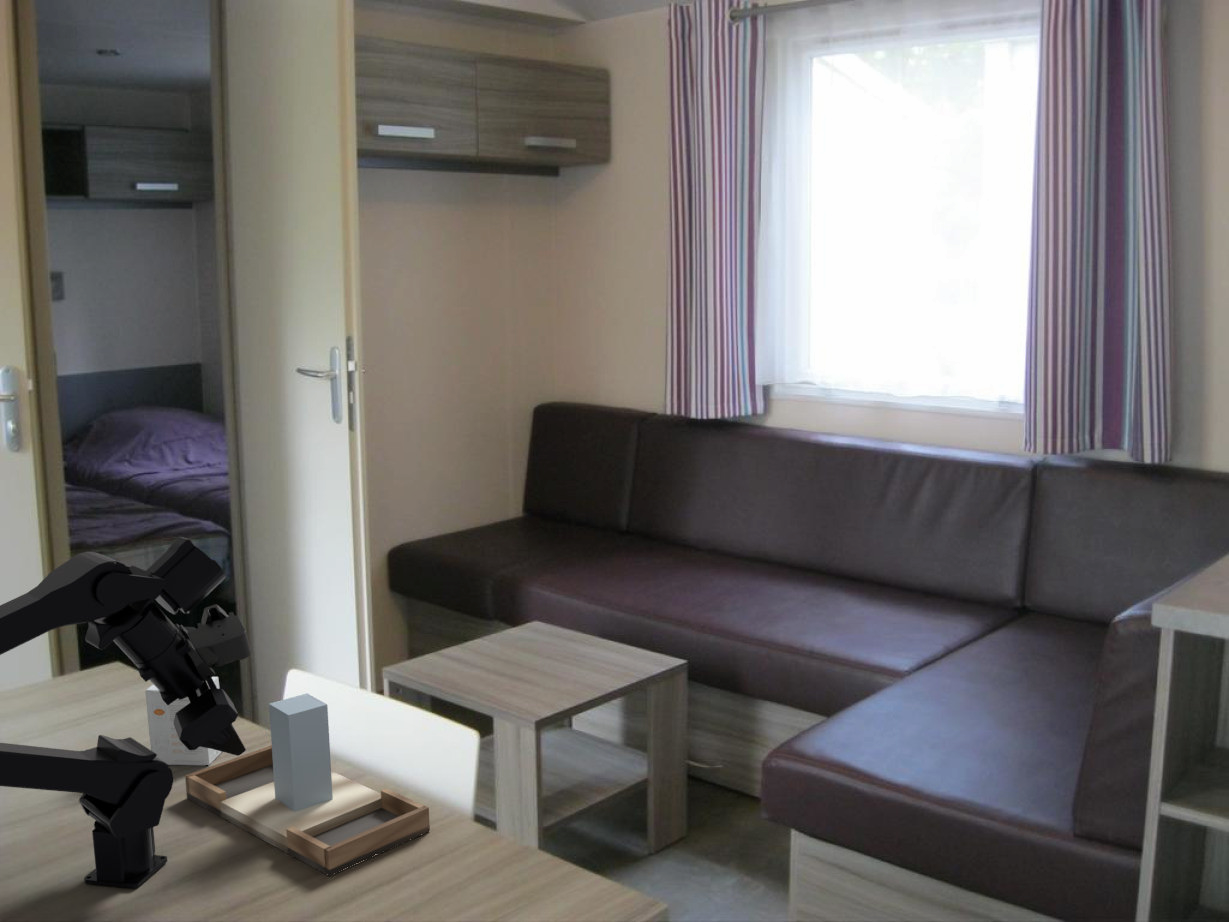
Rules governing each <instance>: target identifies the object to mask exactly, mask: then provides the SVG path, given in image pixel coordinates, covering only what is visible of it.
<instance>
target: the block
mask: <svg viewBox="0 0 1229 922" xmlns="http://www.w3.org/2000/svg"><path fill="white" fill-rule="evenodd" d="M268 709H269V711H268V712H269V723H270V725H269V727H270V740H271V741H270V742H271V743H270V744H271V745H272V758H273V773H274V788H275V798H276V799H277V800H278V801H280V802H281V803H283V804H284V805H285V806H287V807H288V808H290V809H291V810H293V811H294V812H296V811H299V810H302V809H305V808H308V807H311V806H314V805H317V804H320V803H323V802H326V801H329V800H332V799H333V795H332V777H331V771H332V766H331V765H332V763H331V760H332V759H331V745H330V744H331V743H330V729H329V728H330V727H329V726H330V725H329V711H328V704H327V703H325V702H323V701H322V700H320V699H318V698H316V697H314V696H312V695H311V694H310V693H304V694H301V695H296V696H293V697H288V698H285V699H282V700H278V701H274V702H270V703H268Z"/></svg>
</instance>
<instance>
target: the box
mask: <svg viewBox="0 0 1229 922" xmlns="http://www.w3.org/2000/svg"><path fill="white" fill-rule="evenodd" d="M184 777H185V778H184V779H185V790H186V792H185V793H186V799H187V798H188V800H190V801H191V802H193V803H195V804H197V805H198V806H200V807H202V808H204V809H206V810H208V811H209V812H211V813H214V814H215V815H217V816H218V817H221V818H222V819H225V820H226V821H228V822H230V823H231V824H233V825H235V826H237V827H239V828H240V829H243V830H244V831H246V832H248V833H250V834H251V835H254V836H255V837H257V838H259V839H261V840H263V841H264V842H266V843H268V844H269V845H271V846H274V847H275V848H277V849H278V850H281V851H282V852H284V853H286V854H287V855H289V854H290V855H289V856H291V855H292V856H291V857H293V858H295V857H296V858H295V859H297V860H299V861H300V862H302V861H303V862H302V863H305V864H306V865H308V866H309V865H311V866H312V867H311V866H310V867H311V868H313V867H314V868H313V869H315V868H316V869H315V870H317V869H318V870H317V871H319V870H320V871H322V872H323V873H322V872H321V873H322V874H324V873H325V874H324V875H326V874H328V875H329V876H330V877H332V876H334V875H333V874H334V873H336V872H339V871H341V870H343V869H345V868H347V867H350V866H352V865H354V864H356V863H359V862H361V861H363V860H366V859H368V858H370V857H372V856H374V855H375V854H379V853H381V854H383V853H382V852H383V851H386V850H388V849H390V850H392V849H394V848H393V847H395V846H397V845H399V846H401V845H403V844H402V843H404V842H406V843H408V842H410V841H411V840H410V839H413V840H415V839H416V838H415V837H417V838H419V837H421V836H422V835H421V834H424V835H425V833H426V832H428V833H430V832H431V831H430V829H431V827H430V825H431V824H430V808H429V807H428V806H426V805H424V804H421V803H419V802H417V801H415V800H412V799H410V798H408V797H406V796H405V795H401V794H399V793H397V792H395V791H393V790H391V789H388V788H384V789H382V790H380V792H378V791H377V790H374V789H371V788H370V787H368V786H365V785H364V784H361V783H359V782H356V781H354V780H352V779H349V778H347V777H345V776H343V775H342V774H341V775H340V774H339V773H337V772H334V771H332V770H331V777H332V795H333V799H332V800H329V801H326V802H323V803H320V804H317V805H314V806H311V807H308V808H305V809H302V810H299V811H296V812H294V811H293V810H291V809H290V808H288V807H287V806H285V805H284V804H283V803H281V802H280V801H278V800H277V799H276V798H275V788H274V773H273V758H272V744H271V745H269V746H266V747H263V748H260V749H258V750H254V751H251V752H248V753H246V754H243V755H239V756H237V757H235V758H232V759H229V760H226V761H223V762H220V763H217V764H214V765H211V766H208V767H206V768H202V769H200V770H198V771H197V770H196V771H194V772H191V773H189V774H186V775H184ZM429 831H430V832H429ZM426 834H427V833H426ZM420 835H421V836H420ZM418 836H419V837H418ZM414 838H415V839H414ZM409 840H410V841H409ZM407 841H408V842H407ZM400 844H401V845H400ZM404 844H405V843H404ZM397 847H398V846H397ZM391 848H392V849H391ZM395 848H396V847H395ZM388 851H389V850H388ZM386 852H387V851H386ZM379 855H380V854H379ZM372 858H373V857H372ZM370 859H371V858H370ZM368 860H369V859H368ZM366 861H367V860H366ZM361 863H362V862H361ZM359 864H360V863H359ZM352 867H353V866H352ZM350 868H351V867H350ZM320 871H319V872H320ZM341 872H342V871H341ZM339 873H340V872H339ZM328 875H327V876H328ZM331 875H332V876H331ZM329 876H328V877H329Z"/></svg>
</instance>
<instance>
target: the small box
mask: <svg viewBox="0 0 1229 922" xmlns="http://www.w3.org/2000/svg"><path fill="white" fill-rule="evenodd" d="M212 679H213V681H214V683H215V685H216V687H217V689H220V681H219V676H213V677H212ZM144 693H145V702H146V713H147V714H146V715H147V724H148V725H147V726H148V733H149V735H148V736H149V745H150V750H151V751H153V752H154V753H156V754H157V756H156V757H157V758H159V759H160V760H162V761H163V762H165V763H166V764H168V765H169V766H206V765H208V766H210V765H211V764H212V763H213V762H214V761H215V760H216V758H218V756H219V755H220V754H221V753H223V752H222V751H218V750H214V749H210V748H205V747H198V748H197V749H196V750H189V749H188V748H187V747H186V746H185V745H184V744H183V743H182V742H181V741H180V740H179V737H178V734H177V732H176V729H175V726H174V724H173V723H174V718H175V714H176V713H177V712H178V711H179V710H181V709H182V708H184V707H185V706H186V705H188V704H189V703H190V701H189V698H188V697H186V698H184V699H181V700H179V699H176V700H175V701H174V702H172V703H171V704H169V705H167V704H166V703H165V702H164V701H163V700H162V697H161V694H160V692H159V690H158V688H157V687H156V686H155V685H154V684H153V683H152V684H151V685H150V686H149V687H148V688H147V689H145V691H144Z"/></svg>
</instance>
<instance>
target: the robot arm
mask: <svg viewBox="0 0 1229 922" xmlns="http://www.w3.org/2000/svg"><path fill="white" fill-rule="evenodd" d="M226 576H227V575H226V574H225V571H224V569H223V568H222V567H221V566H220V565H219V563H218V562H217V561H216V560H215V559H213V558H210V557H209V555H208V554H206V553H205V552H204V551H202V549H200V548H199V547H198V546H196V545H194V543H193V542H192V541H191V539H189V538H186V537H183V536H179V537H178V538H176V539H175V540H174V541H173V543H172V544H171V545H170V546H169V547H168V549H167V550H166V551H165V552H164V553H163V554H162V555H161V556H160V557H159V558H158V559H156V560H155V561H154V562H153V563H152V565H150V566H149V567H148V568H147V569H146V570H145V569H142V568H140V567H137V566H136V565H133V564H132V565H126V564H124V563H122V562H120V561H118V560H116V559H113V558H111V557H108V556H106V555H104V554H101V553H98V552H93V551H84V552H81V553H77V554H76V555H74V556H73V557H71V558H70V559H69V560H67V561H65V562H63V563H62V564H60V565H59V566H58V567H56V568H55V569H53V570H52V571H50V572H49V573H48V574H47V575H46V576H44V579H42V581H41V582H40V583H39V584H37V586H35V587H34V588H32V589H30V590H29V591H28V592H25V593H24V594H22V595H19V596H18V597H15V598H13V599H11V600H8V601H7V602H4V603H3V604H0V656H1V655H3V654H5V653H7V652H10V651H12V650H14V649H15V648H17V647H19V646H22V645H23V644H26V643H28V642H29V641H32V640H34V639H36V638H38V637H40V636H42V635H44V634H46V633H48V632H50V631H52V630H56V629H59V628H63V627H66V626H73V625H74V626H75V625H80V624H87V623H88V629H87V631H86V635H85V638H84V639H85V642H86V643H89V644H90V645H92V646H93V647H95V648H97V649H99V650H101V651H103V650H105V649H106V647H108V646H109V645H110V644H111V643H112V642H114V644H115V645H116V646H118V648H119V649H120V650H121V651H122V652H123V653H124V654H125V655H126V656H127V657H128V659H129V660H131V662H132V663H133V664H134V665H135V666H136V668H137V670H138V674H139V676H140V677H141V678H142V679H143V680H144V682H145V683H147V682H148V681H150V682H151V683H152V685H153V684H154V685H155V686H156V687H157V688H158V690H159V692H160V694H161V697H162V700H163V701H164V702H165V703H166V704H167V705H169V704H171V703H172V702H174V701H175V700H176V699H179V700H181V699H184V698H186V697H188V698H189V701H190V703H189V704H188V705H186V706H185V707H184V708H182V709H181V710H179V711H178V712H177V713H176V714H175V718H174V723H173V724H174V726H175V729H176V732H177V734H178V737H179V740H180V741H181V742H182V743H183V744H184V745H185V746H186V747H187V748H188V749H189V750H196V749H197V748H198V747H205V748H210V749H214V750H218V751H222V752H221V753H227V754H230V755H233V756H237V757H240V756H242V754H243V753H244V752H246V747H245V745H244V743H243V741H242V739H241V738H240V735H239V734H238V731H237V730H236V728H235V727H234V725H233V723H235V722H236V720H237V719H238V717H239V713H238V710H237V709H236V707H235V705H234V702H233V700H232V699H231V698H230V697H229V695H228V694H227V692H226V691H225V690H224V689H223V688H219V689H217V687H216V685H215V683H214V681H213V679H212V677H215V675H216V672H215V670H214V669H213V668H219V667H221V666H224V665H227V664H229V663H233V662H237V661H238V660H240V661H242V660H243V661H244V660H245V659H247V658H249V657H250V656H251V655H252V649H251V646H250V642H249V638H248V635H247V631H246V628H245V626H244V624H243V622H242V620H241V619H240V617H239V616H238V615H235V614H234V612H233V611H231V612H228V614H227V612H226V611H225V610H224V609H223V608H222V607H220V605H218V604H217V603H215V604H213V605H210V606H207V607H204V609H203V613H202V617H201V622H199V623H197V628H195V627H194V626H184V625H182V624H180V625H179V624H178V623H175V624H174V623H173V622H172V620H170V619H169V618H168V617H167V615H166V614H165V613H164V612H163V610H161V608H160V607H159V606H158V605H157V604H156V603H155V602H154V601H156V602H157V603H158V604H159V605H160V606H161V607H162V608H164V609H165V611H167V612H169V613H171V614H172V615H176V614H177V613H178V612H179V610H180V612H181V613H183V614H190V613H191V612H192V611H193V610H194V609H195V608H196V607H197V606H198V605H199V604H200V603H201V602H202V601H204V600H205V598H207V596H208V595H210V593H211V592H213V590H214V589H216V588H217V587H218V586H219V585H220V584H221V583H222V582H223V581H224V580H225V578H226ZM97 736H98V737H97V743H96V747H92V748H89V749H85V750H71V749H61V748H55V747H54V748H53V747H44V746H43V747H42V746H37V745H36V746H35V745H25V744H15V743H9V742H8V743H7V742H0V787H4V788H5V787H6V788H7V787H8V788H18V789H28V790H31V789H32V790H40V791H42V790H43V791H54V792H64V793H65V792H66V793H75V794H76V793H77V794H81V795H80V797H79V799H78V802H79V805H80V806H81V808H82V810H83V812H84V813H85V815H87V816H89V817H90V818H92V819H94V822H93V827H94V828H93V830H92V831H91V833H92V842H93V843H92V844H93V855H94V864H95V868H94V869H93V870H91V872H89V873H88V874H86V875H85V876H84V878H83V882H84V883H85V884H92V885H100V886H101V885H102V886H108V887H109V886H110V887H117V888H118V887H120V888H129V889H136V888H138V887H140V886H141V885H142V884H144V882H145V881H147V880H148V879H149V878H150V877H151V876H153V874H155V873H156V872H157V871H158V870H159V869H161V867H163V866H164V865H165V864H166V863H167V862H168V856H167V855H158V854H155V853H156V846H155V845H156V843H155V834H154V833H155V832H154V831H155V830H154V827H158V826H159V825H160V821H161V818H162V813H163V810H164V807H165V802H166V799H167V798H168V797H169V795H170V793H171V792H172V791H171V790H172V788H173V785H174V775H173V771H172V769H171V767H170V765H168V764H166V763H165V762H163V761H162V760H160V759H159V758H157V757H156V756H157V754H156V753H154V752H153V751H151V748H148V747H147V746H145V745H143V744H142V743H140V742H138V741H137V740H136V739H135V738H132V737H130V736H129V737H126V738H119V739H118V738H113V737H110V736H106V735H104V734H99V735H97Z"/></svg>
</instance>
